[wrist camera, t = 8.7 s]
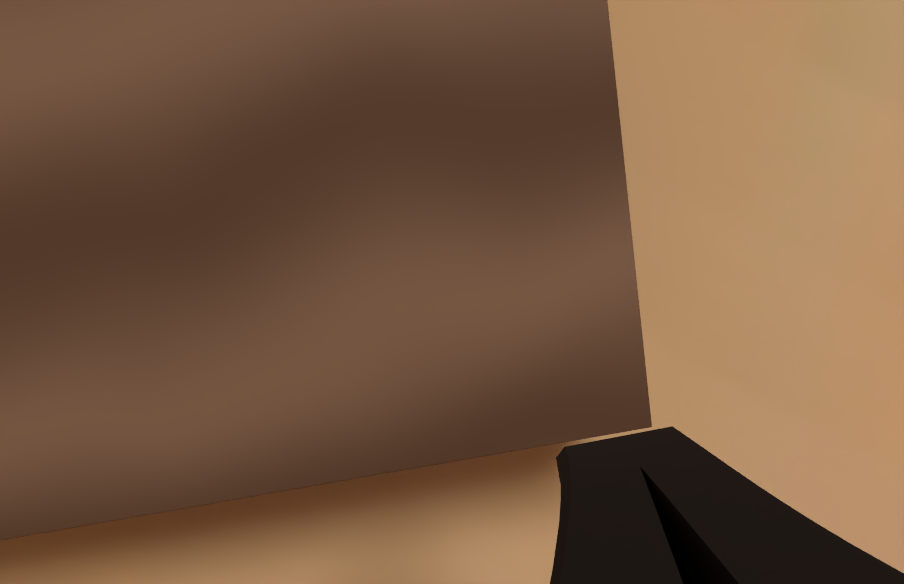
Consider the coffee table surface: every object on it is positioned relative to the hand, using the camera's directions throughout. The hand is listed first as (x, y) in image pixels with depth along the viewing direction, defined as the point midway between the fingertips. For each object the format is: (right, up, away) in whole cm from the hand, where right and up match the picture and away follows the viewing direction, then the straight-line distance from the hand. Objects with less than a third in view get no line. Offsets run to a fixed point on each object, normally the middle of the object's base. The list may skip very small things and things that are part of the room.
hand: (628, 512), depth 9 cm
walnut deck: (-8, +5, +9) cm, 13 cm away
